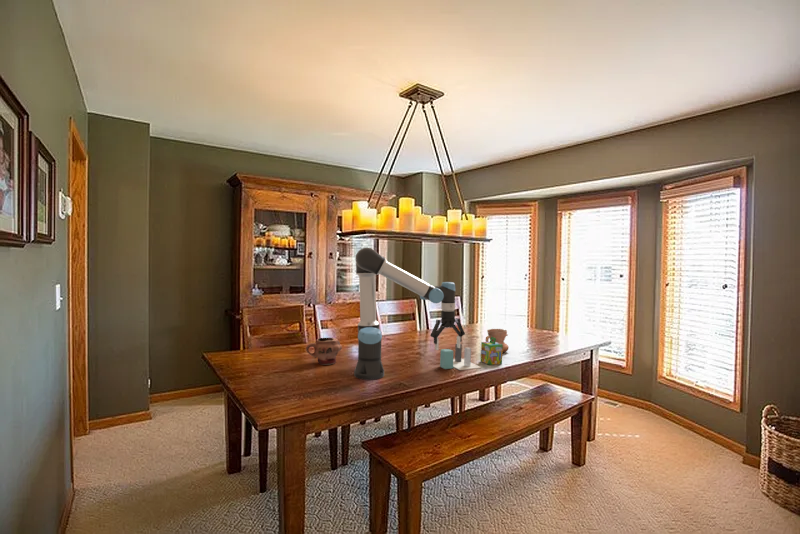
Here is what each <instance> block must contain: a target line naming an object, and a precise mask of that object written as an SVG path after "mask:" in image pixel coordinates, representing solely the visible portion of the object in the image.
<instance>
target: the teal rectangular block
mask: <svg viewBox="0 0 800 534" xmlns="http://www.w3.org/2000/svg"><path fill="white" fill-rule="evenodd" d="M439 357H440V358H439V359H440V361H439V367H440V368H442V369H443V370H449V369H454V367H453V359H454V350H452V349H449V348H444V349H440V356H439Z"/></svg>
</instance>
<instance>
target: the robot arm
mask: <svg viewBox="0 0 800 534" xmlns="http://www.w3.org/2000/svg"><path fill="white" fill-rule="evenodd" d="M355 273H356V275H357V276H358V278H359V279H358V280H359V281H358V282H359V312H360V313H359V315H360V316H359V317H360V318H359V319H360V320H359V322H358V323H357V340H358V341H357V342H358V343H357V344H358V348H357V351H358V353H357V356H358V358H357V363H356V365H355V368H354V371H353V374H354V377H355V378H357V379H360V380H365V381H367V380H370V381H372V380H379V379H382V378H384V377H385V369H384V367H383V362H382V339H383V334H382V330H381V329H380V322H379V321H378V320H377V294H376V292H377V291H376V289H377V288H376V276H378V275H380V276H382V277H384V278H387V279H389V281H392V282H393V283H395V284H397V285H399V286H401V287H403V288H406V289H407V290H409V291H411V292H413V293H414V294H417V295H418V296H419V298H420V300H422V301H423V300H424V301H429V302H431V303H433V304H439V303H441V306H440V309H441V311H440V315H441V319H435V324H434V327H433V329H432V331H431V333H430V337H431V338H433V344H434V350H436V351H439V350H440V349H439V348H440V347H439V343H440V342H439V341H440V340H439V338H438V337H439V336H440V334H441V333H442V332H443V331H444V329H445V328H452V329H453V330H454V332H455V333H456V334H457V335H456V344H457V348H460V344H461V343H462V338H463V337H464V335H466V332H465V330H464V328H463V326H462V323H461V319H460V318H458V317H457V318H456V311H455V310H456V284H455V282H452V281H442V282H441V285H432V284H431V283H428V282H427V281H425V280H423V279H422V278H419V277H418V276H415V274H411V273H410V272H408V271H406V270H404V269H402V268H401V267H399V266H397V265H395V264H393V263H391V262H390V261H388V260H387V258H386V257H384V256H382V255H381V254H379V252H377V251H376V250H375V249H373V248H371V247H363V248H361V249H359V250H358V251H357V253H356V254H355ZM456 325H457V326H456Z"/></svg>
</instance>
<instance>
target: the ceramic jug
mask: <svg viewBox="0 0 800 534" xmlns="http://www.w3.org/2000/svg"><path fill="white" fill-rule="evenodd" d="M507 333H508V331H507V330H506V329H503V328H491V329H487V336H486V337H485V342H490V339H491V337H494V338H496V341H495V342H497V343H500V344H502V345H503V351H502V354H503V353H507V352H508V351H509V345H508V344H507V343H506V342H505V339H506V337H508V335H509V334H507ZM492 342H494V339H492Z"/></svg>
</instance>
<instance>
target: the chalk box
mask: <svg viewBox="0 0 800 534" xmlns="http://www.w3.org/2000/svg"><path fill="white" fill-rule="evenodd" d="M492 339H494V342H492ZM495 341H496V338H494V337H491V339H490V338H489V342H486V341H481V344H480V345H481V347H480V362H482V363H483V364H486V365H488V366H492V365H493V366H495V365H502V364H503V353H502V351H503V345H502V344H500V343H497V342H495Z"/></svg>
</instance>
